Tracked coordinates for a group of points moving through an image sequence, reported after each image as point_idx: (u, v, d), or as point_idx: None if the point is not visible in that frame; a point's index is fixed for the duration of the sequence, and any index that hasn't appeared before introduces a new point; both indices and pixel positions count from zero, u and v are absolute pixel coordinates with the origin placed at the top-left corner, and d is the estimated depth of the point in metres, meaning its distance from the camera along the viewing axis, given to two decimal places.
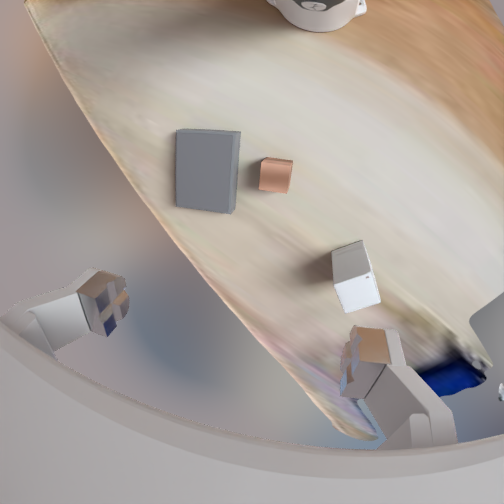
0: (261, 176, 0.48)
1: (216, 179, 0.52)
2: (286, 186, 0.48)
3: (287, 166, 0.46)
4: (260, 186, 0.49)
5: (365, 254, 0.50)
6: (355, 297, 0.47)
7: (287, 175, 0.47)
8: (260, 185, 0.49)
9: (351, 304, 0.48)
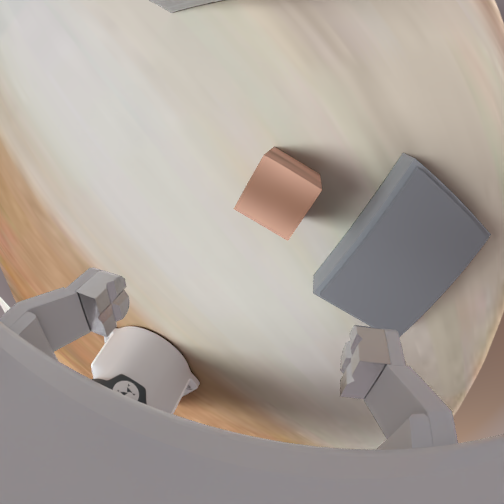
0: (301, 213, 0.21)
1: (396, 241, 0.23)
2: (257, 170, 0.21)
3: (239, 210, 0.22)
4: (314, 194, 0.21)
5: None
6: None
7: (246, 192, 0.22)
8: (313, 196, 0.21)
9: None
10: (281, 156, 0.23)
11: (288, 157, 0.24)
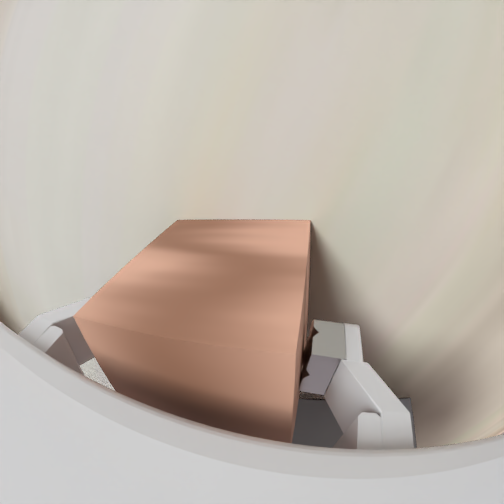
0: None
1: None
2: (221, 353, 0.05)
3: (85, 330, 0.06)
4: None
5: None
6: None
7: (131, 338, 0.05)
8: None
9: None
10: (306, 294, 0.08)
11: (308, 282, 0.09)
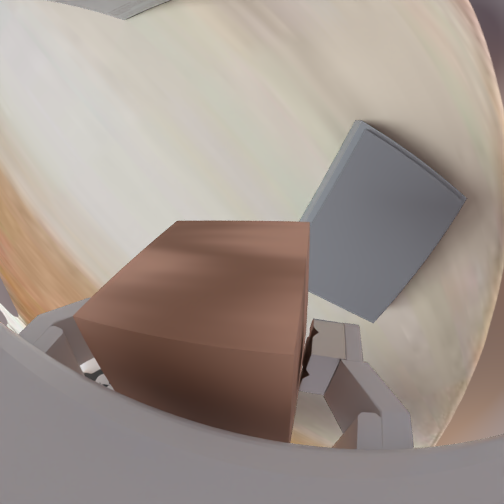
0: None
1: (354, 211, 0.22)
2: (220, 354, 0.05)
3: (84, 330, 0.06)
4: None
5: (89, 8, 0.15)
6: None
7: (130, 339, 0.05)
8: None
9: None
10: None
11: (307, 284, 0.09)
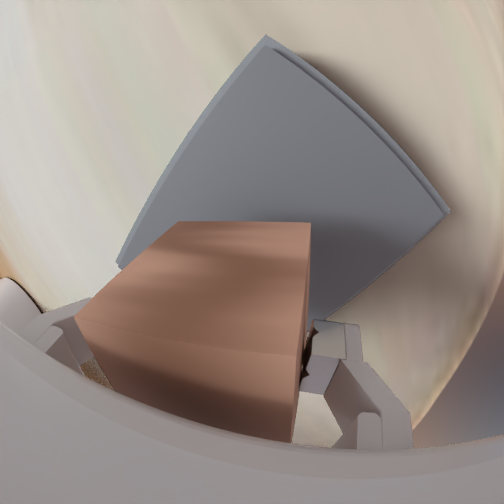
0: None
1: (222, 186, 0.13)
2: (222, 355, 0.05)
3: (85, 331, 0.06)
4: None
5: None
6: None
7: (132, 340, 0.05)
8: None
9: None
10: (306, 297, 0.08)
11: (308, 284, 0.09)
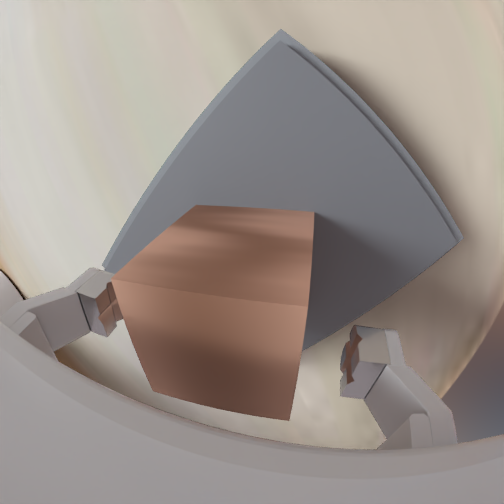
0: (217, 404, 0.08)
1: (220, 195, 0.12)
2: (248, 307, 0.06)
3: (119, 292, 0.07)
4: (271, 414, 0.08)
5: None
6: None
7: (167, 296, 0.07)
8: (266, 414, 0.08)
9: None
10: None
11: None
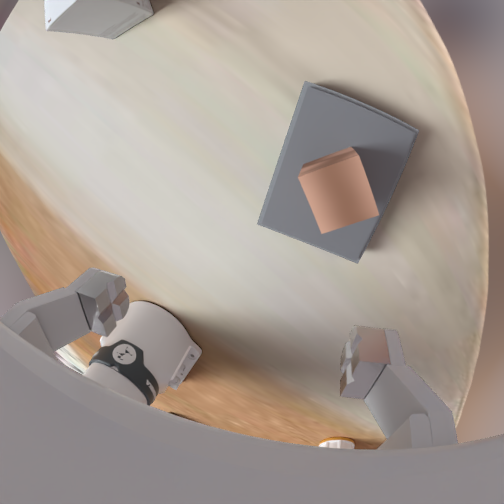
0: (350, 221, 0.21)
1: (312, 155, 0.25)
2: (344, 163, 0.19)
3: (302, 181, 0.21)
4: (371, 214, 0.21)
5: (83, 33, 0.21)
6: None
7: (320, 172, 0.20)
8: (369, 215, 0.21)
9: None
10: None
11: None
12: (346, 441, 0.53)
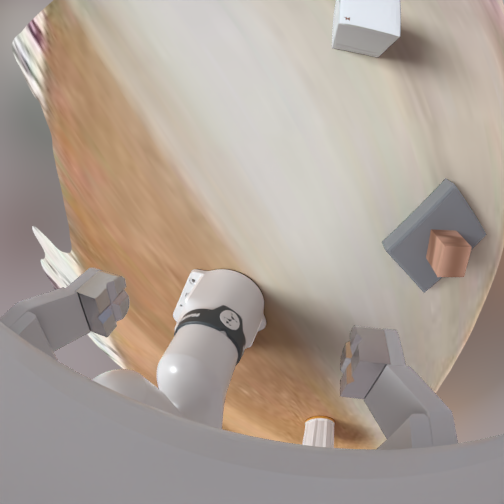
0: (452, 275, 0.34)
1: (437, 227, 0.37)
2: (464, 248, 0.32)
3: (444, 248, 0.32)
4: (461, 275, 0.33)
5: (336, 37, 0.27)
6: (376, 2, 0.19)
7: (454, 248, 0.32)
8: (460, 275, 0.33)
9: None
10: None
11: None
12: (330, 421, 0.70)
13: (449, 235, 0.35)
